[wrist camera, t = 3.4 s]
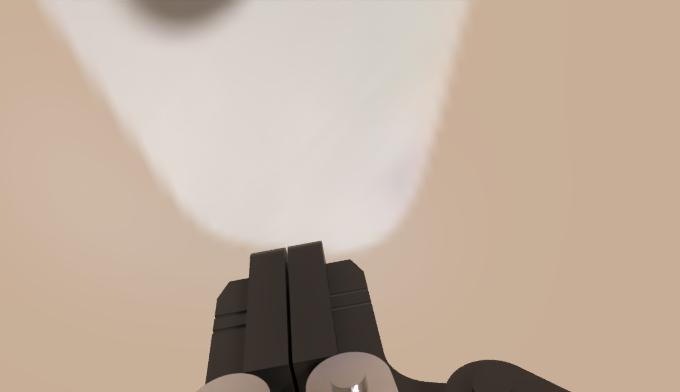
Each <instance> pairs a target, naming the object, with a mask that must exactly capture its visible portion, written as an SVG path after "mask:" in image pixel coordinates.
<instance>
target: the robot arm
mask: <svg viewBox="0 0 680 392" xmlns="http://www.w3.org/2000/svg"><path fill="white" fill-rule="evenodd" d="M249 270H250V271H249V278H247V279H241V280H236V281H231V282H229V283H228V284H227V286H226V287H225V289H224V290H223V292H222V293H221V294H220V296H219V297H218V298H217V304H216V311H215V319H214V326H213V334H212V340H211V347H210V355H209V362H208V369H207V376H206V383H205V385H204V386H203V387H202V388H200V389H199V390H198V391H197V392H570V391H568V390H566V389H563V388H561V387H559V386H557V385H555V384H553V383H551V382H549V381H547V380H545V379H543V378H541V377H539V376H537V375H535V374H533V373H531V372H529V371H526V370H524V369H522V368H520V367H518V366H516V365H513V364H511V363H507V362H503V361H498V360H481V361H476V362H471V363H469V364H466V365H464V366H463V367H460V368H459V369H458V370H456V371H455V372H454V373H453V374H452V375H451V376H450V378H449V380H448V381H447V383H433V382H424V381H418V380H414V379H411V378H408V377H406V376H404V375H402V374H400V373H398V372H397V371H396V370H395V369H393V368H392V367H391V366H390V365H389V363H388V362H387V360H386V358H385V355H384V352H383V348H382V344H381V340H380V336H379V332H378V328H377V324H376V320H375V316H374V312H373V307H372V304H371V299H370V295H369V292H368V288H367V283H366V280H365V275H364V272H363V271H362V270H361V269H360V268H359V267H358V266H357V265H356V264H355V263H354V262H352V261H351V260H344V261H339V262H334V263H328V264H326V261H325V256H324V251H323V246H322V241H317V242H312V243H306V244H301V245H296V246H290V247H288V254H287V251H286V248H280V249H274V250H269V251H263V252H258V253H252V254H251V255H250V269H249Z"/></svg>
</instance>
